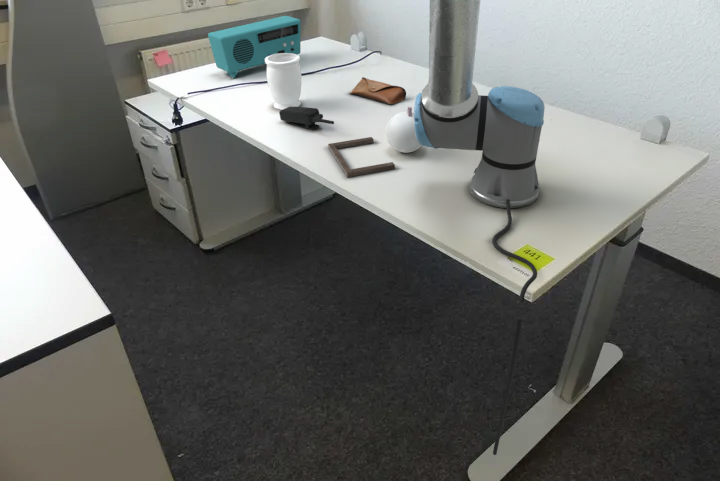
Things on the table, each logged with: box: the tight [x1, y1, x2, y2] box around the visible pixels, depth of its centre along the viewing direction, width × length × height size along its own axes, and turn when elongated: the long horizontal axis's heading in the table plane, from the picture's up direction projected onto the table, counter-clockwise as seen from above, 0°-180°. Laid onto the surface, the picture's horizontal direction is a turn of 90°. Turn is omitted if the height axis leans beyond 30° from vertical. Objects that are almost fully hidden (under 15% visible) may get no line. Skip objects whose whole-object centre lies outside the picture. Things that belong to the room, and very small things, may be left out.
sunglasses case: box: [348, 76, 407, 105], centre depth 176 cm, size 18×7×7 cm, turn 52°
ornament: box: [385, 106, 423, 153], centre depth 141 cm, size 10×10×12 cm
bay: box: [327, 136, 396, 178], centre depth 141 cm, size 18×12×1 cm
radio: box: [207, 15, 301, 79], centre depth 200 cm, size 34×10×15 cm, turn 132°
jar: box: [265, 53, 303, 111], centre depth 168 cm, size 11×10×15 cm
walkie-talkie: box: [278, 106, 335, 130], centre depth 156 cm, size 6×6×20 cm
